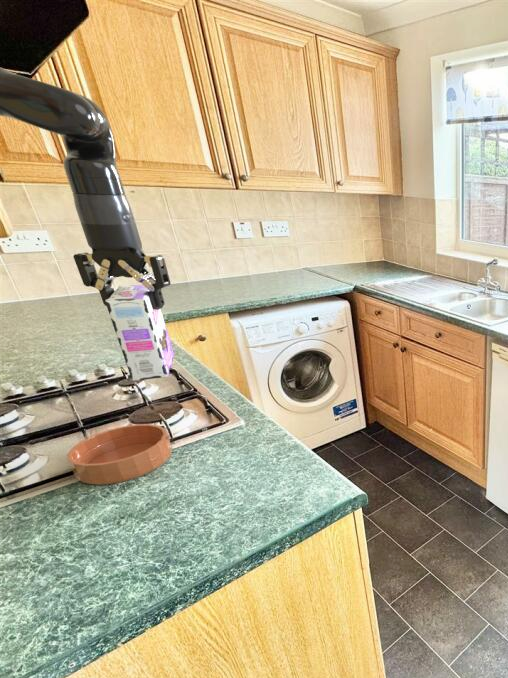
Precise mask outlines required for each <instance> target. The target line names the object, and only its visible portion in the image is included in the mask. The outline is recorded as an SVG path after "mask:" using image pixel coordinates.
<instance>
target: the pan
mask: <svg viewBox="0 0 508 678" xmlns="http://www.w3.org/2000/svg"><path fill="white" fill-rule="evenodd" d="M172 453H173V446H172V443H171V439H170V438H169V435H168V431H167V430H166V428H165V427H163V426H160V425H158V424H157V425H156V424H151V423H146V424H145V423H144V424H140V423H139V424H132V425H123V426H120V427H115V428H111V429H107V430H104V431H102V432H99V433H97V434H93V435H91V436H89V437H87V438H85V439H83V440H80V442H78V443H77V444H75V445H74V446H73V447H71V448H70V450H69V451H68V453H67V454H66V458H67V462H68V464H69V467H70V469H71V471H72V473H73V475H74V477H75V479H77V480H78V481H80V482H81V483H85V484H88V485H95V486H101V485H102V486H103V485H112V484H118V483H123V482H127V481H130V480H134V479H136V478H139V477H142V476H144V475H147V474H149V473H151V472H152V471H155V470H157V469H158V468H160V467H161V466H162V465H164V464H165V463H166V462H167V461H168V460H169V459H170V456H171V455H172Z"/></svg>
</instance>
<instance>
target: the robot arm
mask: <svg viewBox="0 0 508 678" xmlns="http://www.w3.org/2000/svg"><path fill="white" fill-rule="evenodd" d="M0 117H3V118H4V117H5V118H7V119H8V118H9V119H14V120H17V121H20V122H22V123H25V124H28V125H30V126H33V127H36V128H39V129H42V130H45V131H47V132H50V133H54V134H57V135H59V136H62V138H63V141H64V146H65V150H66V156H65V157H64V158H63V161H62V163H63V170H64V172H65V176H66V179H67V181H68V184H69V187H70V190H71V192H72V196H73V202H74V208H75V211H76V213H77V214H76V215H77V217H78V219H79V223H80V225H81V228H82V231H83V234H84V237H85V241H86V242H87V245H88V247H90V248H91V253H89V252H80V253H75V254H74V255H73V260H74V262H75V264H76V268H77V271H78V273H79V275H80V278H81V281H82V283H83V284H82V285H84V286H85V287H92V288H94V289H96V290H98V292H99V295H100V297H101V300H102V303H103V305H104V306H105V307H107V305H106V302H105V300H106V299H108V298H109V297H110V296H111V295H112V294H113V293H114V292H115V291H116V290H115V289H114V287H112V285H113V283H114V280H115V279H116V278H121V277H123V278H133V279H134V280H136V282H137V283H141V285H144V286H145V287H146V288H147V289H148V290H149V291H148V295H149V298H150V301H151V304H152V308H153V309H154V310H159V309H161V310H162V309H163V308H164V306H165V303H166V302H165V299H164V295H163V291H162V289H164V288H167V287H169V286H171V285H172V284H171V280H170V279H171V278H170V276H169V275H170V274H169V272H168V269H167V268H168V267H167V264H166V261H165V257H164V256H163V255H162V254H158V255H154V256H153V255H146V254H145V252H144V251H143V247H142V246H143V244H142V240H141V237H140V233H139V229H138V227H137V223H136V220H135V217H134V212H133V209H132V207H131V205H130V202H129V200H128V198H127V195H126V191H125V189H124V185H123V182H122V179H121V176H120V172H119V170H118V167H117V166H118V165H117V157H116V149H115V142H114V136H113V131H112V127H111V124H110V121H109V118H108V117H107V115H106V114H105V112H104V110H103V109H102V108H101V107H100V105H98V104H97V103H96V102H95V101H94V100H92V99H90V98H88V97H86V96H84V95H82V94H79V93H76V92H74V91H72V90H69V89H65V88H62V87H59V86H58V85H57V86H56V85H53V84H51V83H48V82H47V83H46V82H44V81H41V80H37V79H34V78H30V77H27V76H24V75H20V74H16V73H14V72H12V71H10V70H8V69H6V68H3V67H2V66H1V67H0ZM95 263H96V264H97V265H98V266H99V267H100V268H99V270H98V272H97V270H96V267H95ZM146 264H148V267H150V268H151V270H152V272H151V271H150V270H149V269H148V268H147V266H146Z"/></svg>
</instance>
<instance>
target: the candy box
mask: <svg viewBox="0 0 508 678" xmlns="http://www.w3.org/2000/svg"><path fill="white" fill-rule="evenodd" d="M114 291H115V292H114V293H113V294H112V295H111V296H110V297H109V298H108V299H106V300H105V302H106V305H107V306H106V308H107V311H108V314H109V317H110V321H111V323H112V327H113V330H114V332H115V335H116V339H117V341H118V344H119V347H120V350H121V353H122V355H123V359H124V361H125V364H126V367H127V371H128V374H129V376H130V378H131V381H132V382H135V381H136V382H137V381H145V380H152V379H162V378H168V377H169V374H170V370H171V367H172V364H173V362H174V361H173V360H174V357H175V353H174V349H173V346H172V342H171V339H170V336H169V333H168V328H167V326H166V322H165V319H164V315H163V313H162V308H161V309H159V310H154V309H153V308H152V304H151V301H150V298H149V295H148V291H149V290H148V289H147V288H146V287H145V286H144V285H143V284H131V285H118V288H117V289H116V290H114Z"/></svg>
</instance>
